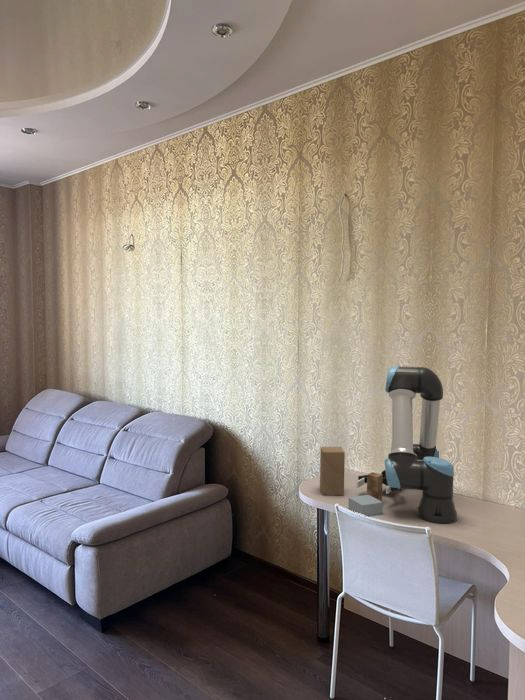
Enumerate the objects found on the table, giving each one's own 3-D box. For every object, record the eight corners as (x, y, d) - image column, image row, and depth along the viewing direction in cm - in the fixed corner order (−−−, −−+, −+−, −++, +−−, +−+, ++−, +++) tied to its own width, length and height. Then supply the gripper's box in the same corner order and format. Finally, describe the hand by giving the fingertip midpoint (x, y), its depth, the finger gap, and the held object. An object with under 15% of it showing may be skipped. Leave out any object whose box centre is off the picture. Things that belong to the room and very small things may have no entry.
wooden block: (344, 495, 228) (344, 452, 228) (321, 495, 229) (322, 451, 228) (341, 488, 238) (341, 446, 238) (319, 488, 239) (320, 446, 238)
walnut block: (382, 501, 222) (382, 474, 221) (377, 504, 218) (378, 476, 217) (371, 498, 225) (372, 472, 224) (366, 501, 221) (367, 474, 220)
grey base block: (382, 514, 207) (382, 502, 207) (361, 517, 203) (362, 505, 203) (368, 506, 216) (368, 494, 216) (348, 509, 212) (348, 497, 212)
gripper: (417, 489, 228) (399, 502, 211) (366, 479, 243) (345, 490, 226) (417, 473, 228) (399, 484, 211) (366, 463, 243) (345, 473, 226)
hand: (371, 487), depth 219 cm, fingers open, 13 cm apart
